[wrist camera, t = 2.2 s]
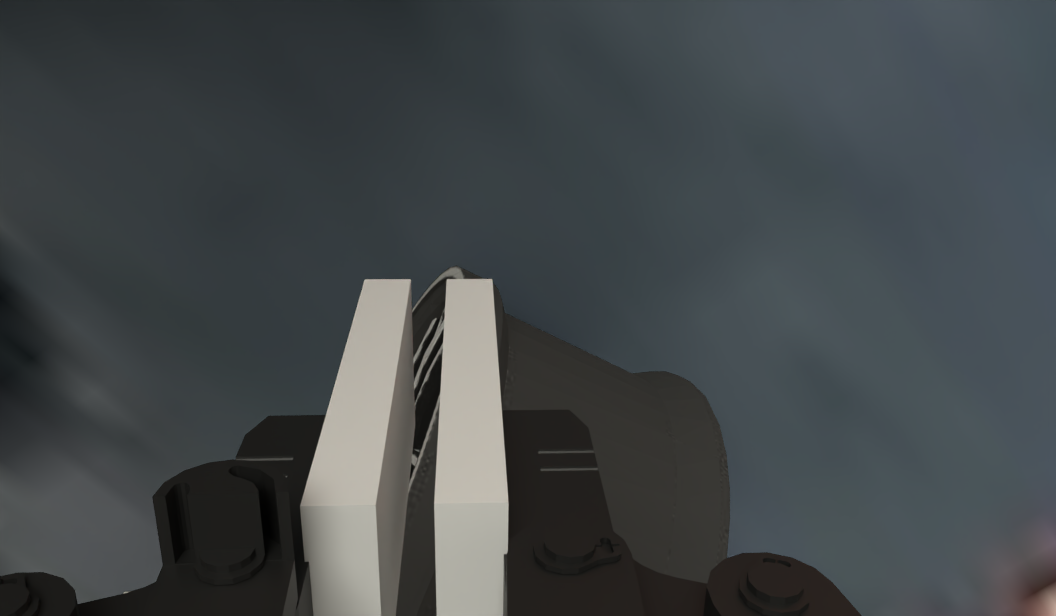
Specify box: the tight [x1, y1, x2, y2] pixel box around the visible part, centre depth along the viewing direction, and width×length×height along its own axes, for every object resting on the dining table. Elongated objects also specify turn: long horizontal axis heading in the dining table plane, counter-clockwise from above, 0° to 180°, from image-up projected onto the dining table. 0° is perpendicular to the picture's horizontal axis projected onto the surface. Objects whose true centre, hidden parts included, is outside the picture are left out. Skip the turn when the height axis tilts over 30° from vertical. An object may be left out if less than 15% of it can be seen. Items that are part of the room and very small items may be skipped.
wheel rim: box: [396, 266, 730, 616], centre depth 33 cm, size 20×9×20 cm, turn 152°
